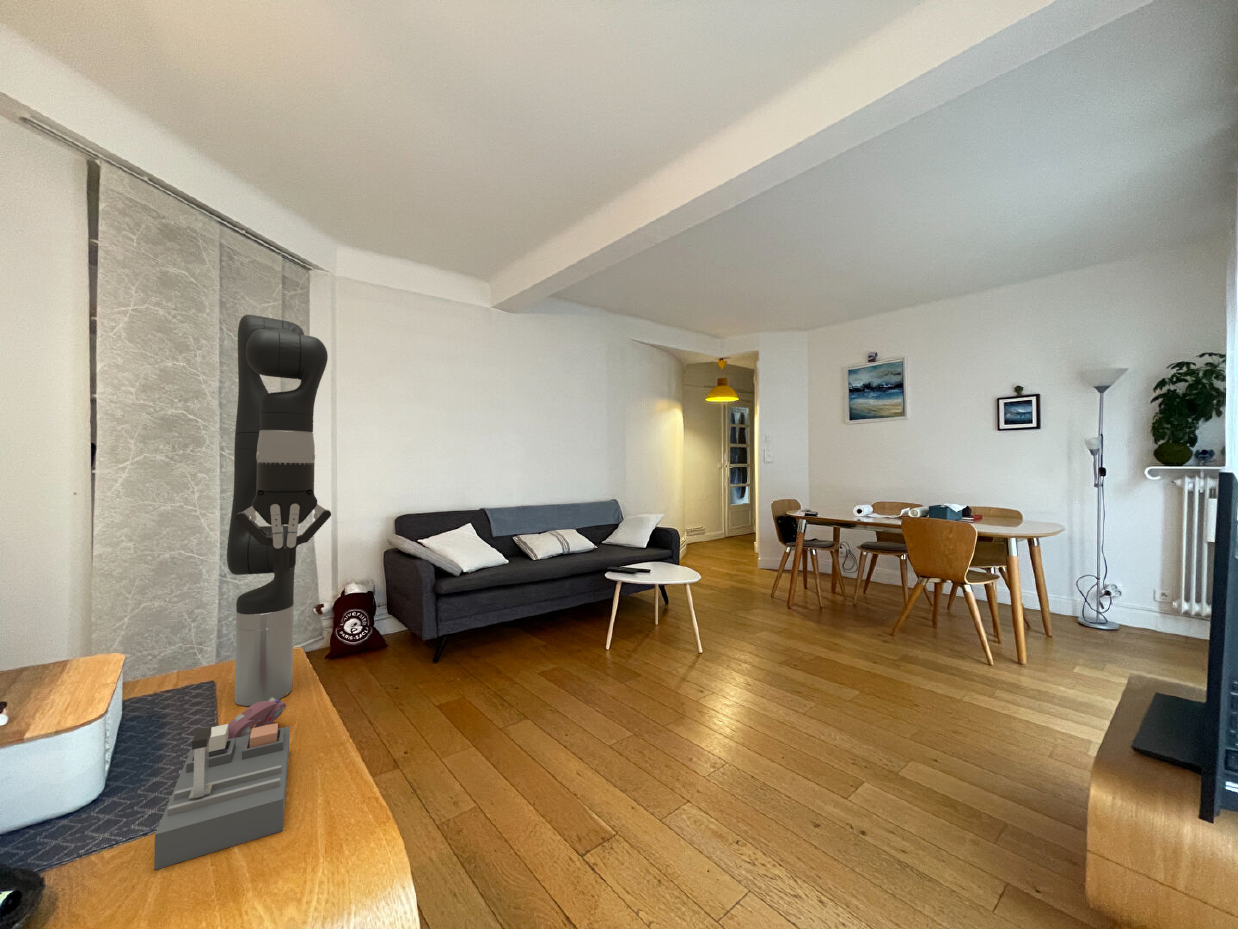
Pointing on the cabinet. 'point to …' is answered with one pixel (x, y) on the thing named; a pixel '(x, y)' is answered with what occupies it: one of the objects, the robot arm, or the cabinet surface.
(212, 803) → the control panel
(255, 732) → the terracotta button
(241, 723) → the video game controller
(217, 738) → the cream button
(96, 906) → the cabinet surface
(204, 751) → the slide paddle
